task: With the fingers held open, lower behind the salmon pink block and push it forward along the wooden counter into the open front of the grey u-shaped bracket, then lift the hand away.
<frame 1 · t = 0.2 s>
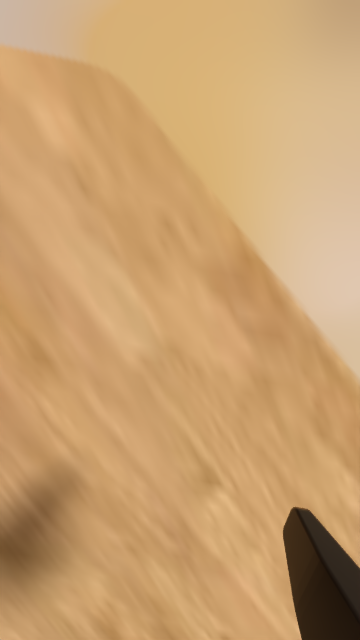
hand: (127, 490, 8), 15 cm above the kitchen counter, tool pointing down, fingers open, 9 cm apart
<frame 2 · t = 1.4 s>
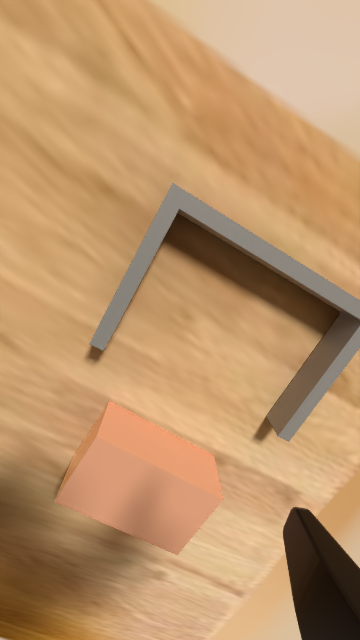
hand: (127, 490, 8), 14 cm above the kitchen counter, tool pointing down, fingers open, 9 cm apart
grey u-shaped bracket: (230, 319, 21), on the kitchen counter
salmon pink block: (144, 453, 24), on the kitchen counter
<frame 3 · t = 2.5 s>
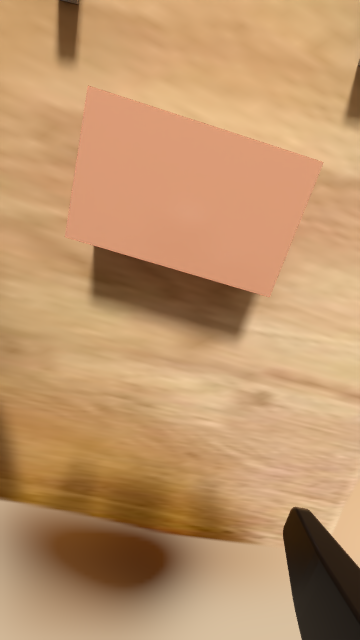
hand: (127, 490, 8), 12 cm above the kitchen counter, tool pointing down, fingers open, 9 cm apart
salmon pink block: (188, 207, 17), on the kitchen counter
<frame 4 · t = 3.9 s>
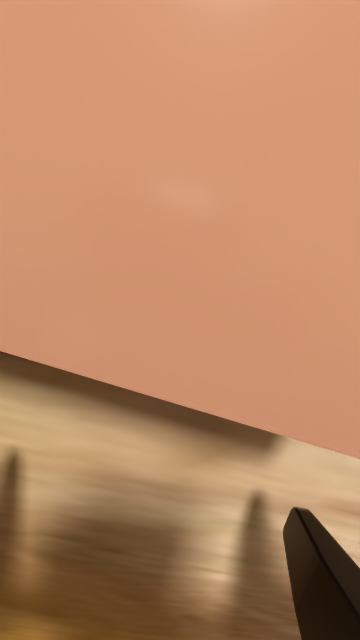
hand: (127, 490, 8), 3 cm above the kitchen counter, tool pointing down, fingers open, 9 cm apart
salmon pink block: (177, 211, 8), on the kitchen counter
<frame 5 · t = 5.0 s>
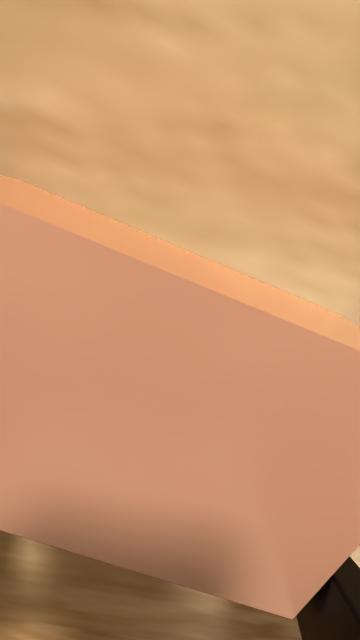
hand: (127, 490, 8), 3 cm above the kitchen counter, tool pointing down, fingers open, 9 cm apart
salmon pink block: (151, 339, 9), on the kitchen counter, touching gripper
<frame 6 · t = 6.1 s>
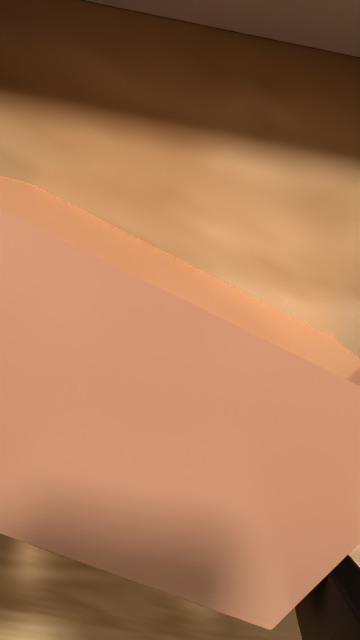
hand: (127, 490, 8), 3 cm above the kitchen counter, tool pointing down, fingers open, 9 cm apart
grey u-shaped bracket: (171, 227, 8), on the kitchen counter
salmon pink block: (150, 349, 9), on the kitchen counter, touching gripper
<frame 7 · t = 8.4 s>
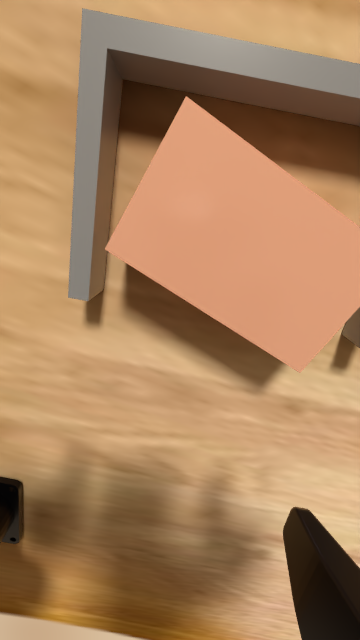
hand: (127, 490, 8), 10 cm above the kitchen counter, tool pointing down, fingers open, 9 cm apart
grey u-shaped bracket: (247, 211, 15), on the kitchen counter
salmon pink block: (235, 245, 15), on the kitchen counter
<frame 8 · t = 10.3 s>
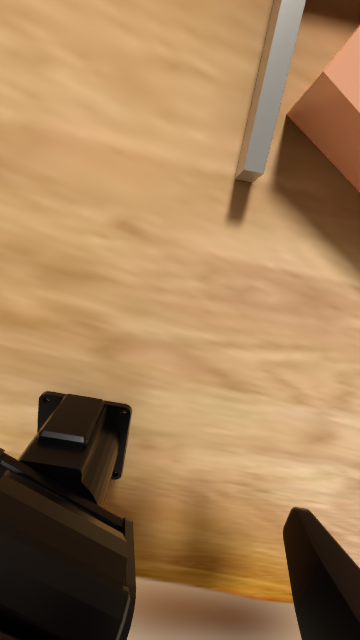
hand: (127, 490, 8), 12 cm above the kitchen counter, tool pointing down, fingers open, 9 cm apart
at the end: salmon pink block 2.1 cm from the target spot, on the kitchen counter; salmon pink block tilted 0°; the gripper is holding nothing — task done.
